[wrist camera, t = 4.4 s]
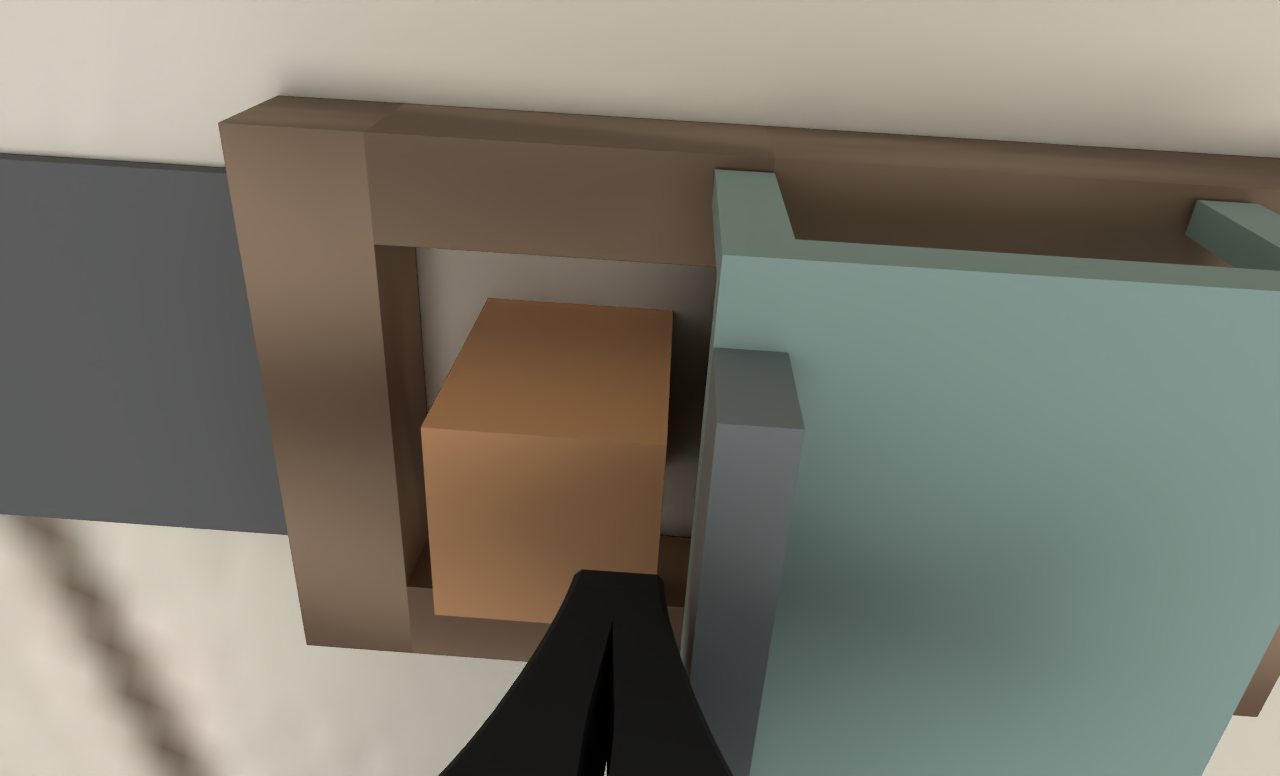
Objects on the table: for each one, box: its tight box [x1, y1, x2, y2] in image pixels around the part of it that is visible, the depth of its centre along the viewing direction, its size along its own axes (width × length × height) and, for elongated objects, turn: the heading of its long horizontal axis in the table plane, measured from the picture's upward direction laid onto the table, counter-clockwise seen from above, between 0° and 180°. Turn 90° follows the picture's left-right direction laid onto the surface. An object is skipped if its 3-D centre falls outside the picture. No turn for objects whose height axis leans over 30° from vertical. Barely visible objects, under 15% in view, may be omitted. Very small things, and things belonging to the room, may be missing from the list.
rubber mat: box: [0, 154, 288, 535], centre depth 20 cm, size 9×9×1 cm
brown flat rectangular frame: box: [218, 96, 1280, 717], centre depth 19 cm, size 12×22×2 cm, turn 87°
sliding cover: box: [680, 169, 1280, 776], centre depth 15 cm, size 12×9×6 cm
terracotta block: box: [421, 298, 673, 623], centre depth 18 cm, size 4×4×6 cm
